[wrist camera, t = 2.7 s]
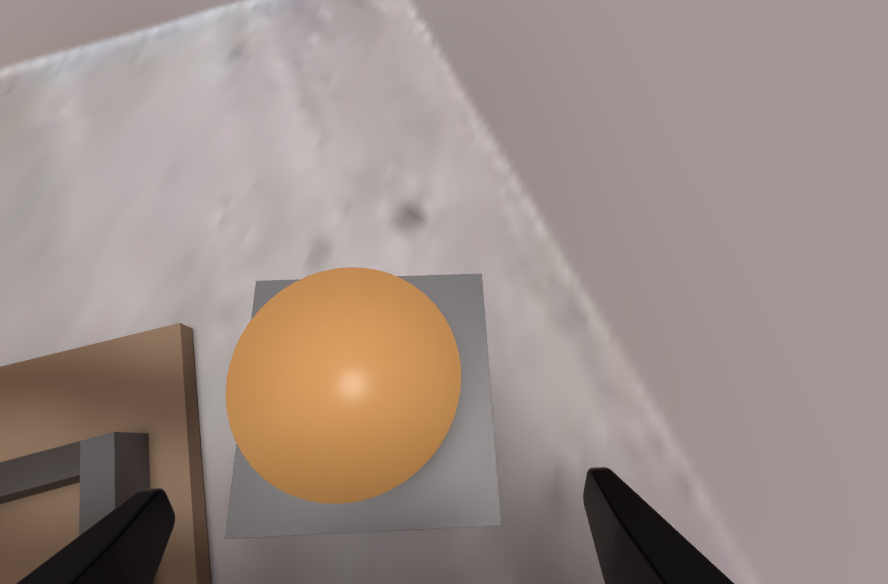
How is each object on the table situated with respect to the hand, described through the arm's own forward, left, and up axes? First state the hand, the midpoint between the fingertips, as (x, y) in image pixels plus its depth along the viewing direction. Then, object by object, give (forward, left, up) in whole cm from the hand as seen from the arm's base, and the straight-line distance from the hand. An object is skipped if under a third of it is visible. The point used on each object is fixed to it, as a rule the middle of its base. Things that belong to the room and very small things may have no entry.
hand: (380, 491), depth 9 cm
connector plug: (+2, 0, -10) cm, 10 cm away
